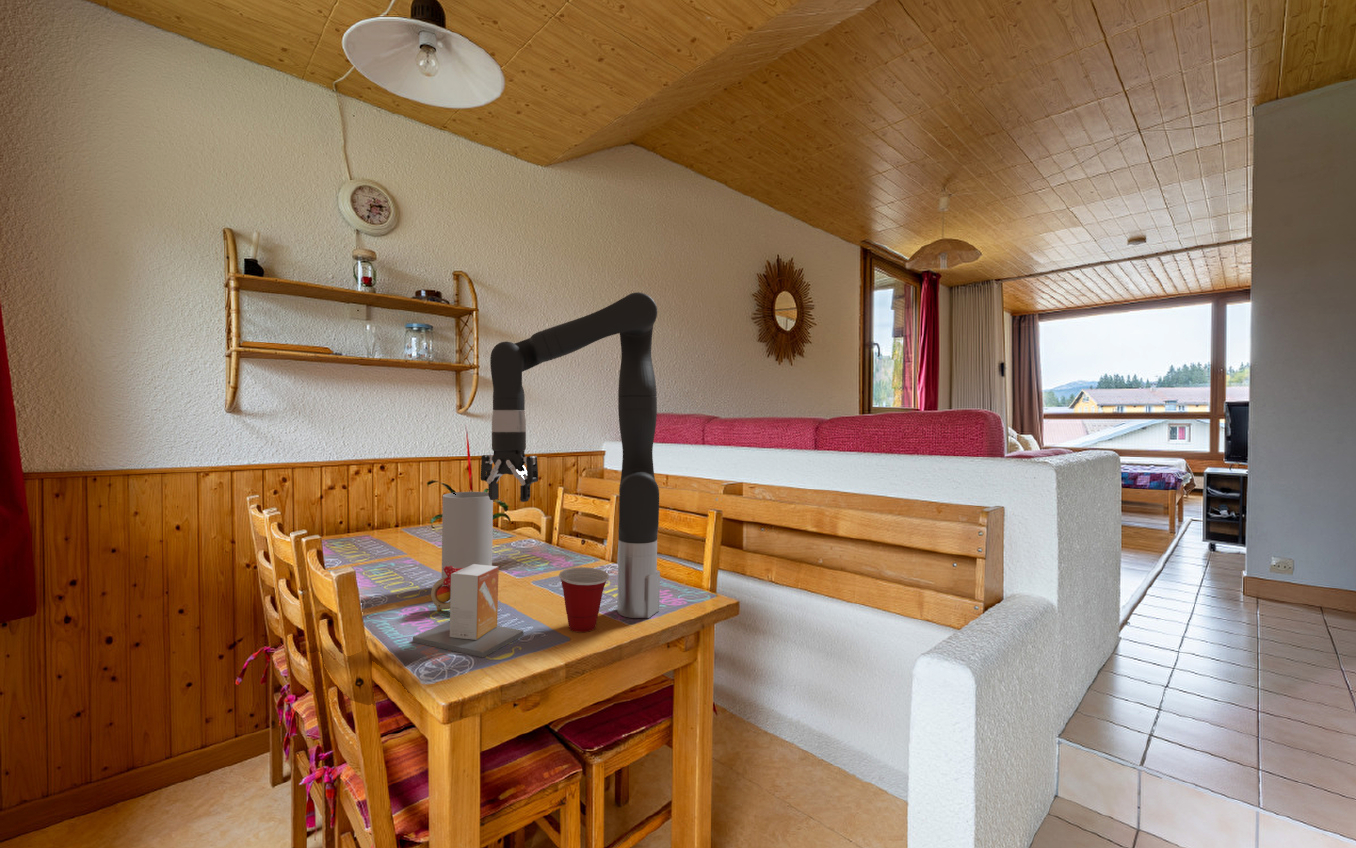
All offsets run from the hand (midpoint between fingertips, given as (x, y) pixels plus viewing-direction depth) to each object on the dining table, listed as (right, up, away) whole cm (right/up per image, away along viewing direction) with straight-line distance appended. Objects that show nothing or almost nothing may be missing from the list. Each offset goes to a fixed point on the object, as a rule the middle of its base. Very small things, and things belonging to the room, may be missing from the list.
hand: (509, 500), depth 128 cm
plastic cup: (+18, -27, -6) cm, 33 cm away
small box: (-3, -26, -12) cm, 29 cm away
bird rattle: (-15, -27, +3) cm, 31 cm away
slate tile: (-4, -27, -13) cm, 30 cm away
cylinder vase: (-17, -26, +20) cm, 37 cm away
